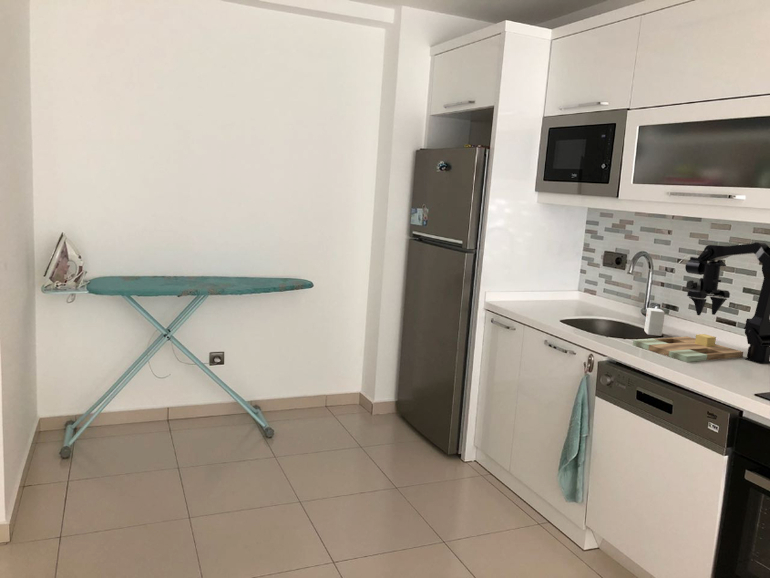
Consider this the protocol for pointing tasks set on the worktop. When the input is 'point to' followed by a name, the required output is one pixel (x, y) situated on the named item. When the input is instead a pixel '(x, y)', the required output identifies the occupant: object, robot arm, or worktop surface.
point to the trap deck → (687, 349)
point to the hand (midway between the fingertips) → (705, 314)
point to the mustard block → (705, 340)
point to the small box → (654, 321)
